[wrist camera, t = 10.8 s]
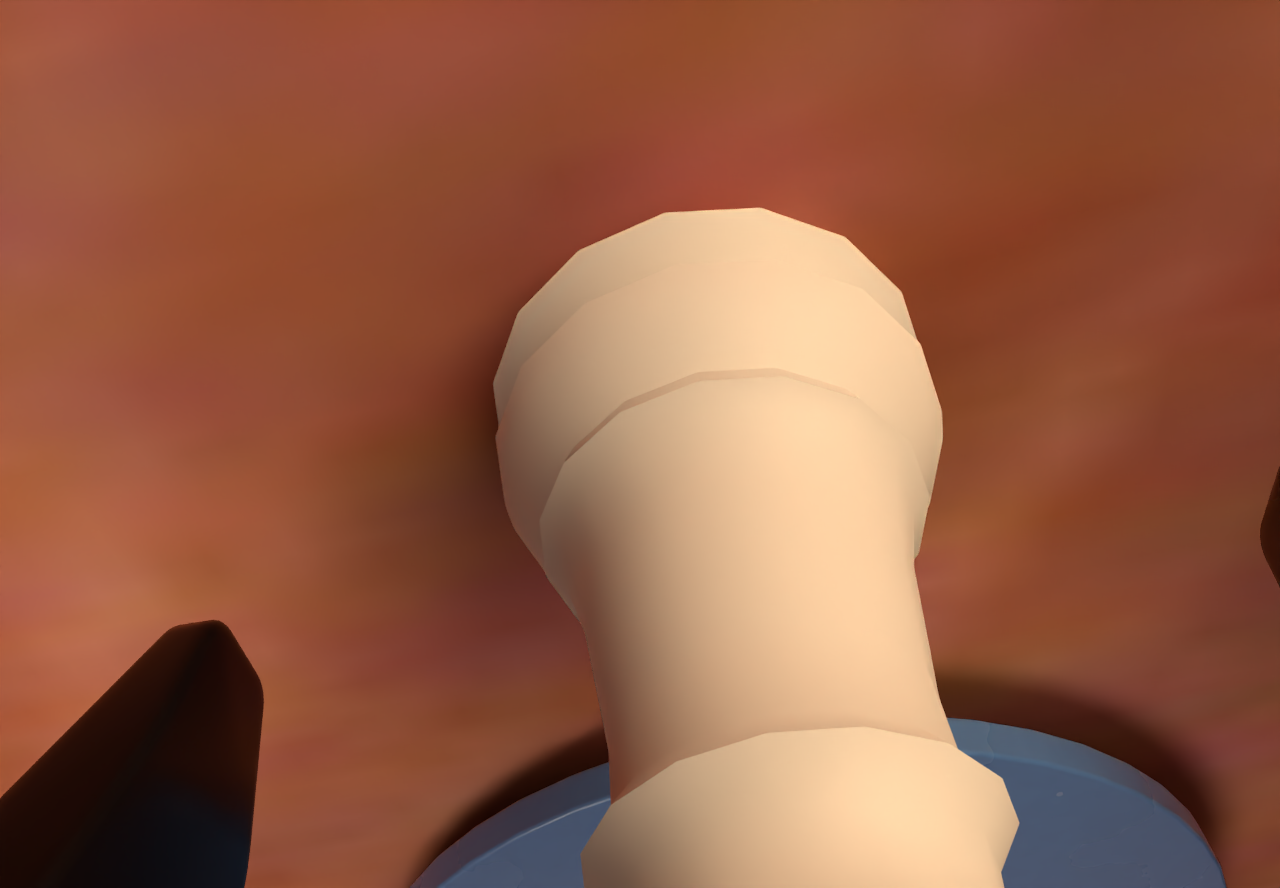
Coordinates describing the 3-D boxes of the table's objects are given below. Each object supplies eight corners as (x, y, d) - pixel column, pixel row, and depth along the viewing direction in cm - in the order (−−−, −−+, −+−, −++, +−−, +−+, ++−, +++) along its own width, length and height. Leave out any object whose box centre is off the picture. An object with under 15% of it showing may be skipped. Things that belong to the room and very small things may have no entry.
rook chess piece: (841, 546, 12) (1125, 1446, 6) (479, 516, 12) (383, 1488, 6) (972, 217, 10) (1707, 1203, 4) (516, 152, 9) (410, 1233, 3)
